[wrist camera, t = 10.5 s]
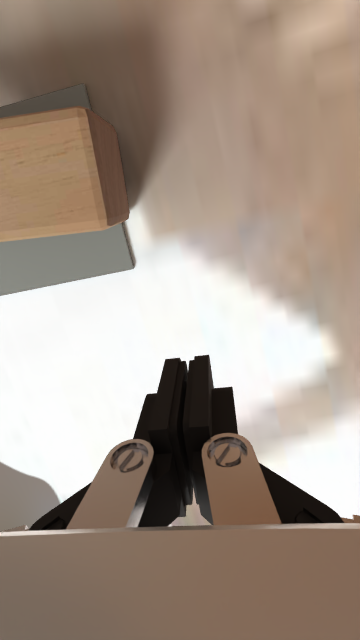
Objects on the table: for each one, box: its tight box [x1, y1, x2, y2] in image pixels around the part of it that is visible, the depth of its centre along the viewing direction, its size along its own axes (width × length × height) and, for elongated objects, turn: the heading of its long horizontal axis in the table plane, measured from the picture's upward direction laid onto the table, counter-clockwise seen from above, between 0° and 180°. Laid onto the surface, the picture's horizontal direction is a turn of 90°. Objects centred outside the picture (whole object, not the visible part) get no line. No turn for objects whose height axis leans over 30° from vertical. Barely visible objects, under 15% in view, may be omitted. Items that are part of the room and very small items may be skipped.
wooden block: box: [0, 106, 130, 242], centre depth 33 cm, size 10×10×20 cm
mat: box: [0, 84, 134, 296], centre depth 39 cm, size 20×20×1 cm
